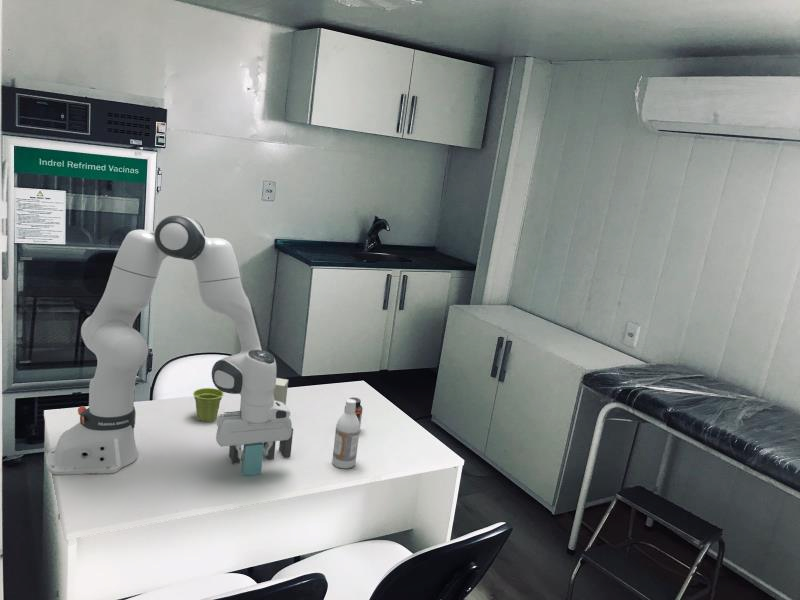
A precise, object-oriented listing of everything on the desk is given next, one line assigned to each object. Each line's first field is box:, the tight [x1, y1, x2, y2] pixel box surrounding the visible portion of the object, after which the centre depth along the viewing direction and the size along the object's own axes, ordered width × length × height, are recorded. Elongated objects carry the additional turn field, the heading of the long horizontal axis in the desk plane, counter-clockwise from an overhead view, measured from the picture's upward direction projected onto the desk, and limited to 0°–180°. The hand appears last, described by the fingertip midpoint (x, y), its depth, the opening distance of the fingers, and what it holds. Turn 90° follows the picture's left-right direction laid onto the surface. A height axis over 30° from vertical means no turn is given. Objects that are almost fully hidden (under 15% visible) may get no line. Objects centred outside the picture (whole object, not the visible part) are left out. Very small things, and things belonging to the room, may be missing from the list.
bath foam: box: [331, 398, 361, 470], centre depth 185 cm, size 7×7×20 cm
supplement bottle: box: [343, 396, 363, 425], centre depth 208 cm, size 6×6×11 cm
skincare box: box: [273, 377, 289, 406], centre depth 213 cm, size 6×4×12 cm
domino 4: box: [278, 427, 294, 459], centre depth 187 cm, size 2×5×9 cm, turn 28°
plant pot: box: [192, 387, 225, 423], centre depth 204 cm, size 9×9×9 cm
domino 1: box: [228, 445, 242, 464], centre depth 180 cm, size 2×5×9 cm, turn 28°
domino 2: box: [241, 442, 264, 477], centre depth 174 cm, size 2×5×9 cm, turn 118°
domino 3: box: [263, 441, 277, 461], centre depth 185 cm, size 2×5×9 cm, turn 28°
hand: (252, 456), depth 174 cm, fingers open, 5 cm apart
